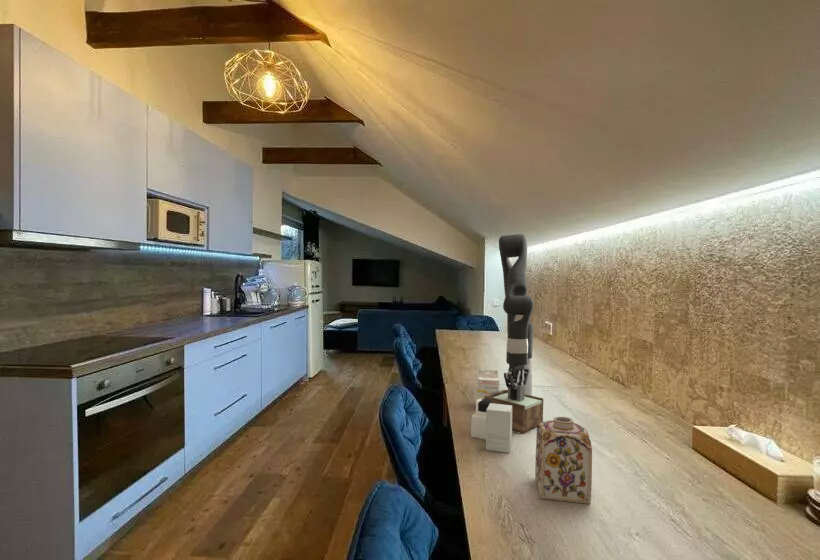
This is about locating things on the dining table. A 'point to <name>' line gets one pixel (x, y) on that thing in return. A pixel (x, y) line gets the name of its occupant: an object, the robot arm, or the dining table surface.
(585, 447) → the decorative jar
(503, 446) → the supplement box
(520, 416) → the box
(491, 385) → the ink cartridge box
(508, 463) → the dining table surface
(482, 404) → the medicine bottle
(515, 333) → the robot arm
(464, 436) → the dining table surface
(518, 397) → the lid
